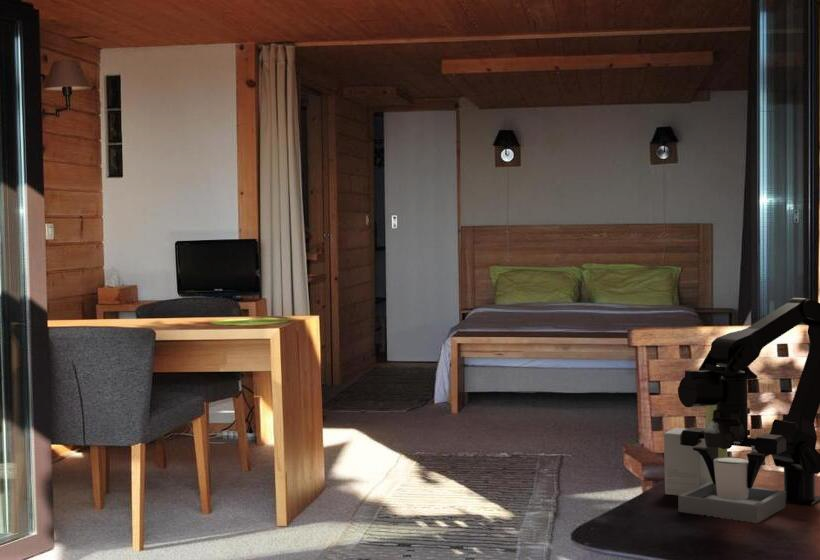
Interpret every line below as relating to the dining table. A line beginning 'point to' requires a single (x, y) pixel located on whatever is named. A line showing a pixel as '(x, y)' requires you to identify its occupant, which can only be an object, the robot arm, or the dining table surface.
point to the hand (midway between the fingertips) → (732, 485)
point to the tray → (732, 503)
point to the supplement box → (682, 465)
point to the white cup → (731, 477)
